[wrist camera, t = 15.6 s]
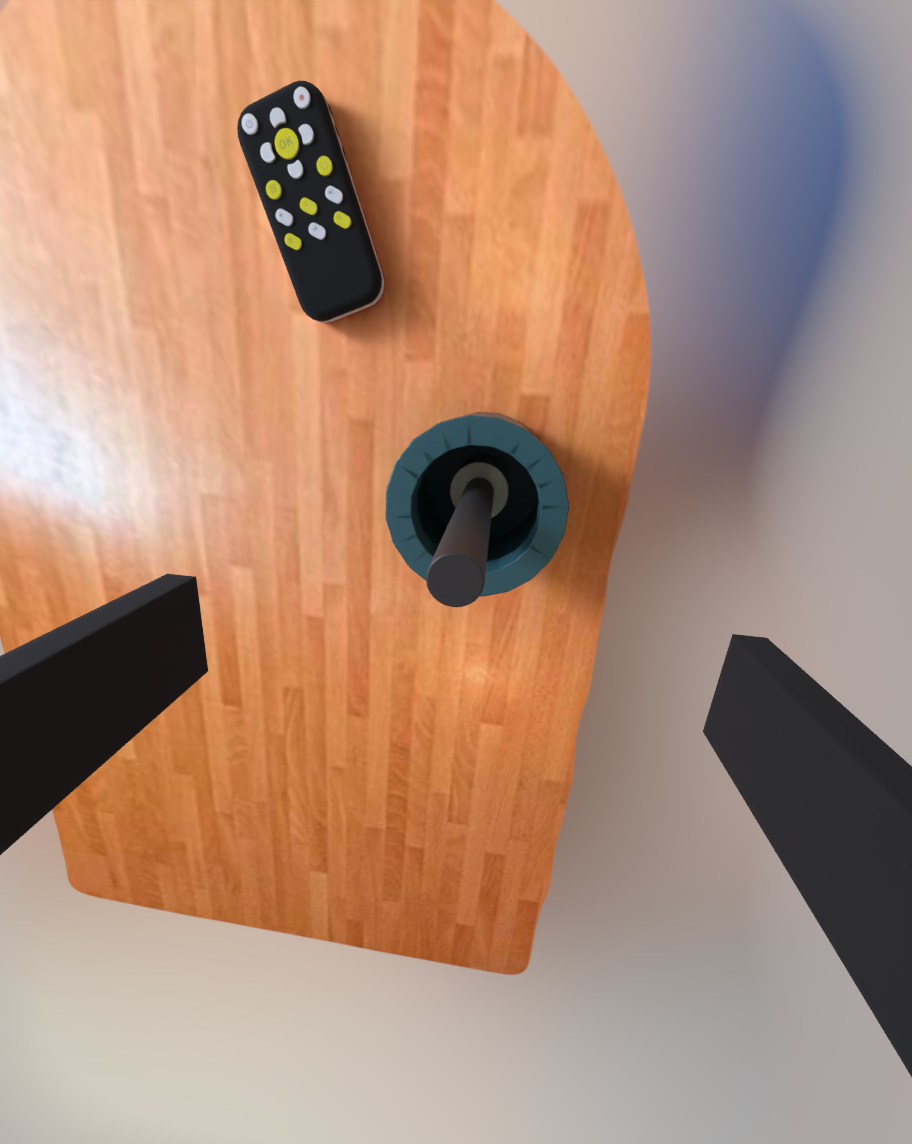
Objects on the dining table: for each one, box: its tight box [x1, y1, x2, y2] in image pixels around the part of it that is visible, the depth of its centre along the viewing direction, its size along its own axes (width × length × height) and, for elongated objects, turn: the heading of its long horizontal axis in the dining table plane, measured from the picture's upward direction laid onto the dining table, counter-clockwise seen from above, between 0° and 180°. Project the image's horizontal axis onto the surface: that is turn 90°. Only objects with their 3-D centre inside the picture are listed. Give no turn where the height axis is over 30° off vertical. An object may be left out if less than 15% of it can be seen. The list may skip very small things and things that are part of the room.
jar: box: [386, 412, 569, 597], centre depth 32 cm, size 10×10×12 cm
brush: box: [426, 455, 509, 607], centre depth 26 cm, size 4×4×22 cm
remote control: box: [237, 81, 384, 323], centre depth 31 cm, size 6×13×2 cm, turn 18°
